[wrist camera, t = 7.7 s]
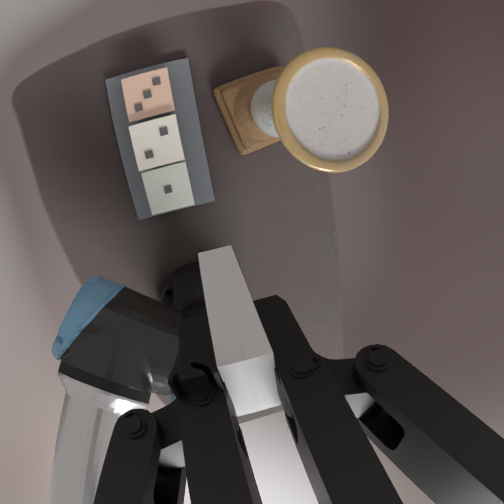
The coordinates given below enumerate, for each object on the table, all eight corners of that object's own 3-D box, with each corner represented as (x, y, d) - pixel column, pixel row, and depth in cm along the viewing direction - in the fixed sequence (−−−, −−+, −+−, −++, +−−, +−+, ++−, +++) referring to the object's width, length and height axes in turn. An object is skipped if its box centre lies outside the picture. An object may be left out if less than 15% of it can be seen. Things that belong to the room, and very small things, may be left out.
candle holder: (278, 65, 38) (371, 33, 17) (302, 129, 43) (404, 153, 22) (210, 89, 37) (244, 62, 17) (238, 155, 43) (297, 199, 22)
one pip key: (193, 197, 42) (194, 205, 39) (154, 207, 41) (152, 215, 38) (184, 158, 39) (185, 162, 36) (144, 168, 39) (140, 173, 35)
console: (214, 198, 45) (217, 206, 42) (139, 217, 43) (136, 226, 40) (187, 59, 34) (188, 54, 31) (107, 80, 33) (100, 77, 30)
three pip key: (175, 110, 36) (174, 110, 33) (133, 121, 35) (128, 122, 32) (168, 71, 33) (166, 67, 30) (125, 82, 32) (120, 79, 29)
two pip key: (184, 155, 38) (184, 159, 35) (142, 166, 37) (138, 171, 34) (175, 114, 35) (175, 114, 32) (132, 125, 35) (128, 126, 31)
